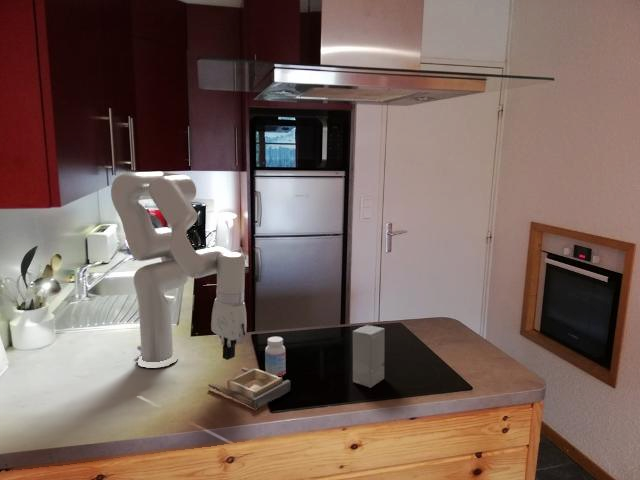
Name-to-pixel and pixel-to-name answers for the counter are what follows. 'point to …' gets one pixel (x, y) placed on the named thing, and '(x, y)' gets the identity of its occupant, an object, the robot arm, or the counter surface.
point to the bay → (257, 400)
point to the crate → (255, 374)
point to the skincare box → (368, 355)
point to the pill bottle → (275, 357)
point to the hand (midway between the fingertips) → (228, 357)
